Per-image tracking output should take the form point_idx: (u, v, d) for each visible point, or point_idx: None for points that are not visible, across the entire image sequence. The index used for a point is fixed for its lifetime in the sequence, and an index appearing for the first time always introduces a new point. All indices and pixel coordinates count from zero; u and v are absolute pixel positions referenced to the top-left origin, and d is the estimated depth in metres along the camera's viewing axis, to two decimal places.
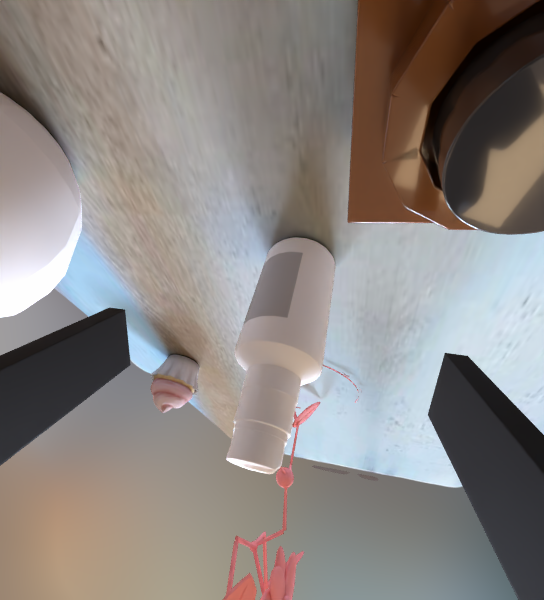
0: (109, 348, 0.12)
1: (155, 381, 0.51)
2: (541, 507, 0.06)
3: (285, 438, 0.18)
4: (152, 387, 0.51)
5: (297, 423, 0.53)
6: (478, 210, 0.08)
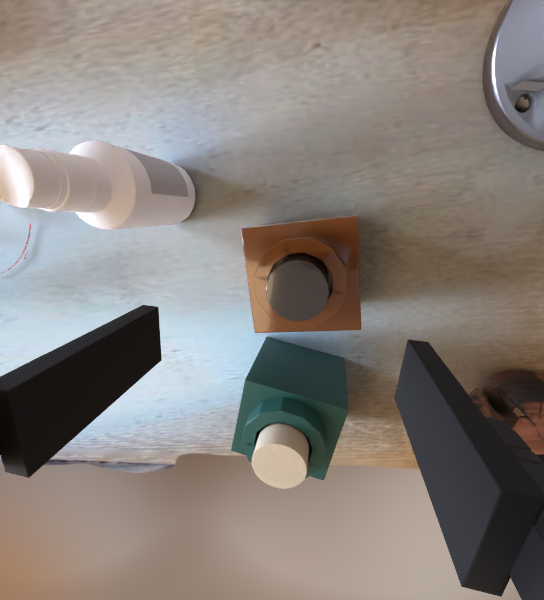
0: (145, 343, 0.12)
1: None
2: (463, 462, 0.07)
3: (52, 207, 0.19)
4: None
5: None
6: (275, 279, 0.22)
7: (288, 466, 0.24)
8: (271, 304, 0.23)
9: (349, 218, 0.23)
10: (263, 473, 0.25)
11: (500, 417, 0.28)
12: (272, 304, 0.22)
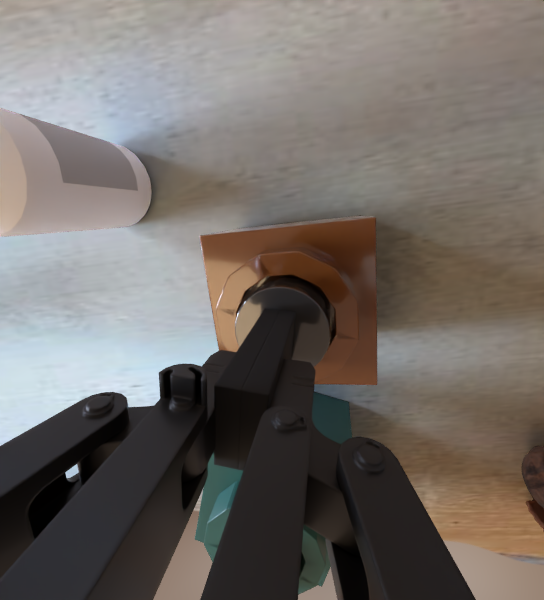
0: None
1: None
2: None
3: None
4: None
5: None
6: (248, 313, 0.14)
7: None
8: None
9: (362, 221, 0.15)
10: None
11: None
12: None
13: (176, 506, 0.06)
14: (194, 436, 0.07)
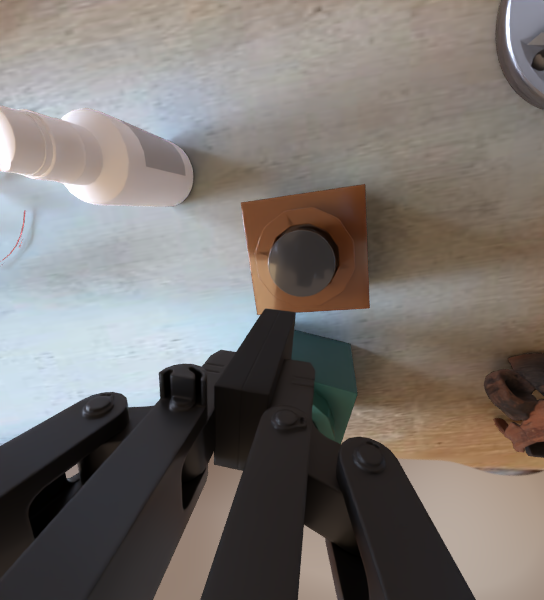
0: None
1: None
2: None
3: (37, 173, 0.18)
4: None
5: None
6: (278, 251, 0.20)
7: None
8: (274, 279, 0.21)
9: (356, 187, 0.22)
10: None
11: (519, 400, 0.27)
12: (275, 279, 0.21)
13: (176, 506, 0.06)
14: (194, 436, 0.07)
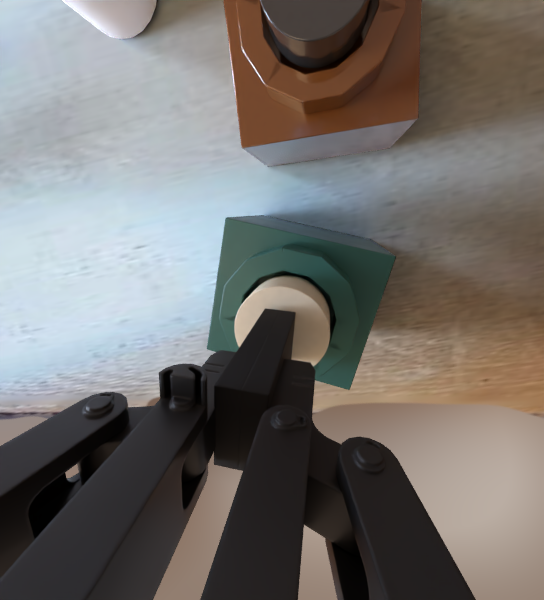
0: None
1: None
2: None
3: None
4: None
5: None
6: None
7: (296, 330, 0.14)
8: (266, 7, 0.12)
9: None
10: None
11: None
12: (268, 7, 0.12)
13: (176, 506, 0.06)
14: (194, 436, 0.07)
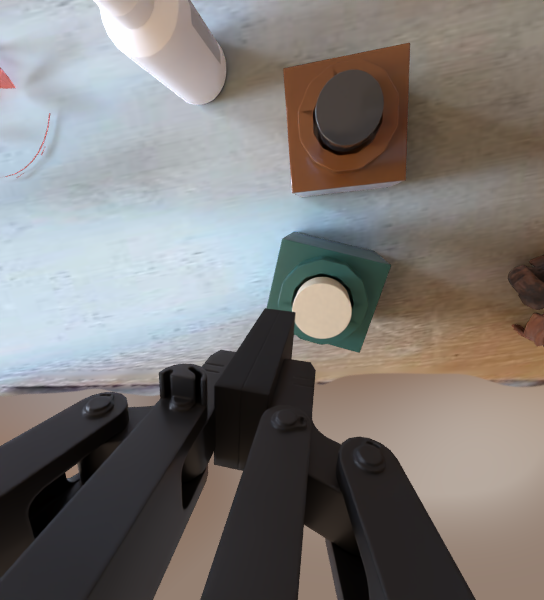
0: None
1: None
2: None
3: None
4: None
5: None
6: (327, 94, 0.21)
7: (331, 310, 0.23)
8: (320, 126, 0.21)
9: (400, 46, 0.22)
10: (304, 322, 0.24)
11: None
12: (321, 126, 0.21)
13: (176, 506, 0.06)
14: (194, 436, 0.07)
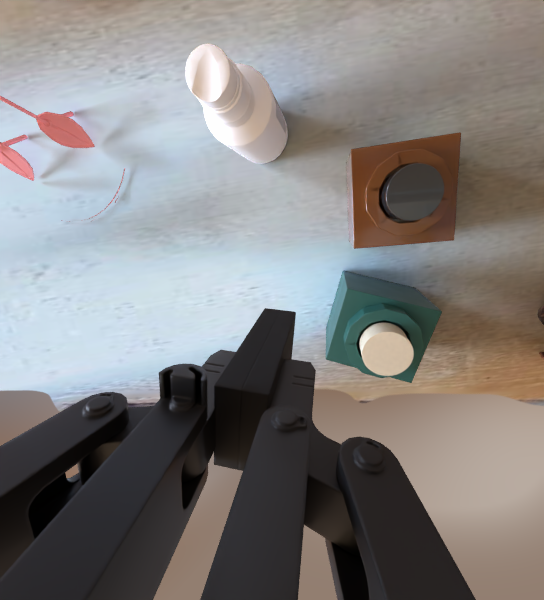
0: None
1: None
2: None
3: (224, 108, 0.23)
4: None
5: None
6: (396, 181, 0.25)
7: (396, 353, 0.28)
8: (389, 205, 0.26)
9: (453, 135, 0.27)
10: (372, 362, 0.29)
11: None
12: (390, 205, 0.26)
13: (176, 506, 0.06)
14: (194, 436, 0.07)
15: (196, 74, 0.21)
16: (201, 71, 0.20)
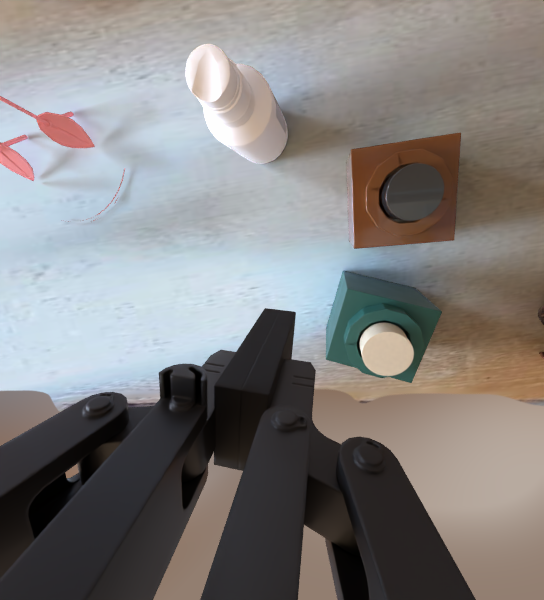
0: None
1: None
2: None
3: (224, 108, 0.23)
4: None
5: None
6: (396, 181, 0.25)
7: (396, 353, 0.28)
8: (389, 205, 0.26)
9: (453, 135, 0.27)
10: (372, 362, 0.29)
11: None
12: (390, 205, 0.26)
13: (176, 506, 0.06)
14: (194, 436, 0.07)
15: (196, 74, 0.21)
16: (201, 71, 0.20)
